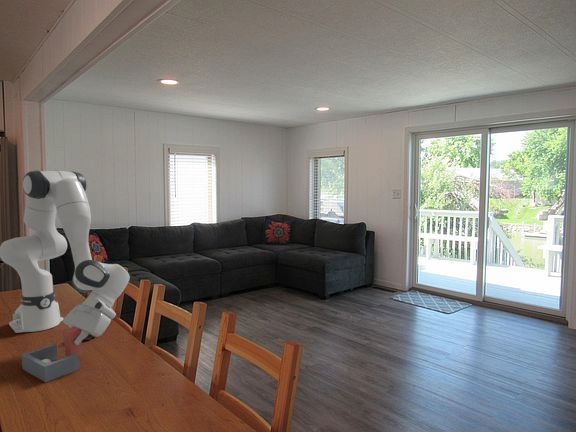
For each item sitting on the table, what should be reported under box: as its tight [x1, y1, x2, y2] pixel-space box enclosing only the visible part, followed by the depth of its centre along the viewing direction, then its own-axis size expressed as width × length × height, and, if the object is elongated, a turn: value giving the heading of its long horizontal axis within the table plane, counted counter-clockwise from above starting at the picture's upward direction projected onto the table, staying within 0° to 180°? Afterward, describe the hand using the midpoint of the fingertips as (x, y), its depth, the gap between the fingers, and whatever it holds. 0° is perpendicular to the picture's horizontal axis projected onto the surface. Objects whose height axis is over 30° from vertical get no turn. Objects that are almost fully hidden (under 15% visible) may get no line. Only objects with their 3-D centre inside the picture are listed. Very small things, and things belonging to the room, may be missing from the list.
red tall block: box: [62, 327, 84, 357], centre depth 139 cm, size 4×4×9 cm
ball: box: [42, 359, 52, 364], centre depth 132 cm, size 4×4×4 cm
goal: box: [20, 343, 81, 383], centre depth 133 cm, size 16×10×5 cm, turn 55°
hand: (70, 342), depth 138 cm, fingers closed on red tall block, 4 cm apart
